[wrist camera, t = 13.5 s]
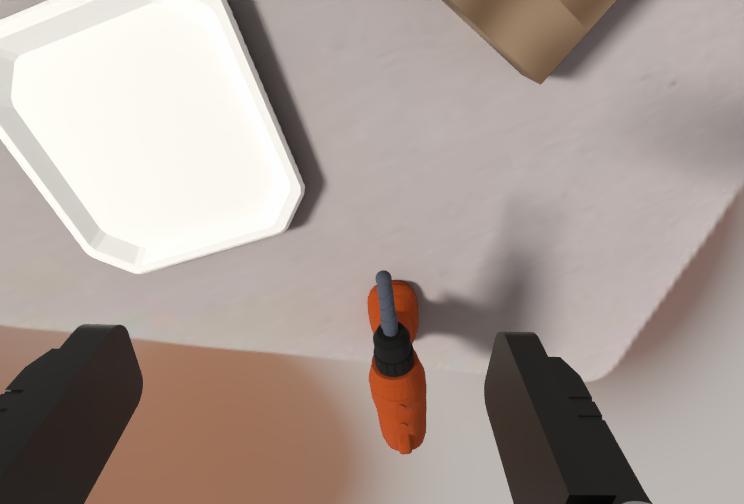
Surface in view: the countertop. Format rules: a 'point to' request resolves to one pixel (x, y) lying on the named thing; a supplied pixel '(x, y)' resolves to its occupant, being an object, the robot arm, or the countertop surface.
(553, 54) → the block
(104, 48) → the plate
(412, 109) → the countertop surface
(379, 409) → the toy drill
